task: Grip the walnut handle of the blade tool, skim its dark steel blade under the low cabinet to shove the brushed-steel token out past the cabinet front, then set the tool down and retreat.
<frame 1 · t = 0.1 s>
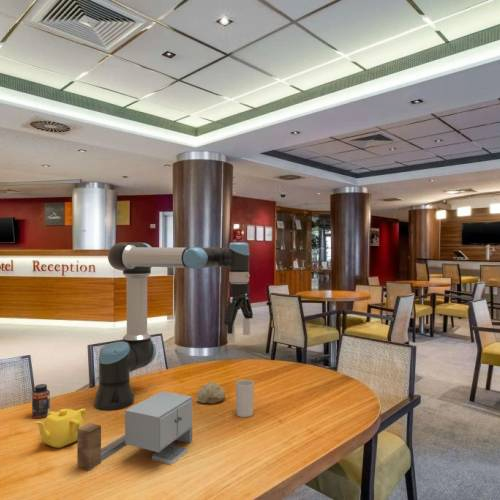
hand: (239, 338, 160), 28 cm above the table, fingers open, 13 cm apart
decorative item: (211, 401, 171), on the table
supplement bottle: (41, 416, 155), on the table
teapot: (61, 442, 135), on the table
mug: (243, 413, 159), on the table
steel token: (169, 457, 126), on the table
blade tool: (89, 465, 120), on the table
low cabinet: (160, 449, 130), on the table
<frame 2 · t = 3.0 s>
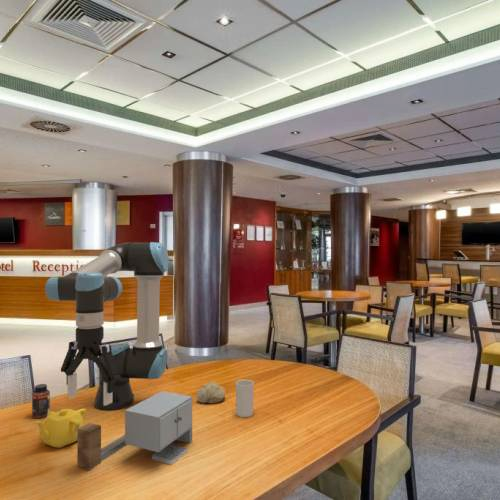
hand: (89, 400, 120), 19 cm above the table, fingers open, 13 cm apart
nothing on the table moved.
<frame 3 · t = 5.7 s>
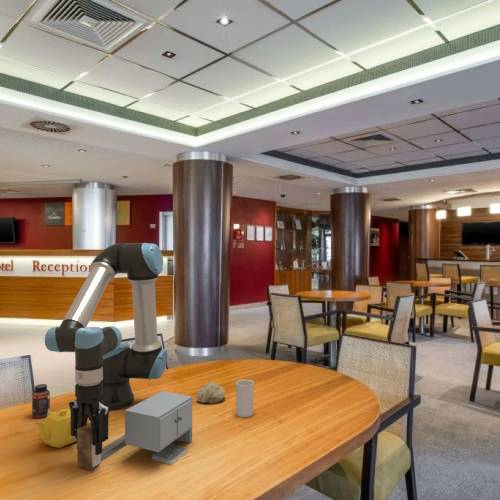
hand: (89, 462, 120), 1 cm above the table, fingers closed on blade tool, 4 cm apart
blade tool: (89, 465, 120), on the table, touching gripper
everything else where it was.
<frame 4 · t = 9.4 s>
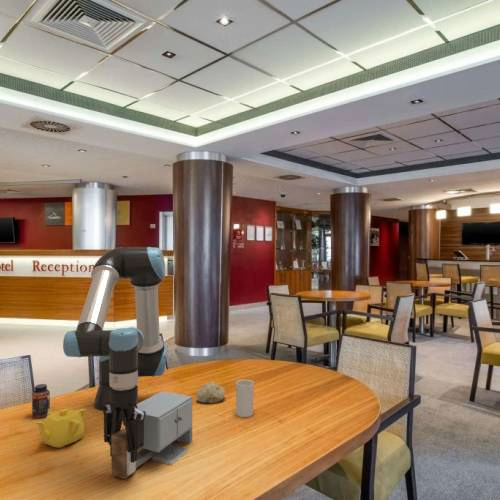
hand: (123, 470, 115), 1 cm above the table, fingers closed on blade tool, 4 cm apart
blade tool: (123, 472, 115), point 1 cm above the table, touching gripper
everything else where it was.
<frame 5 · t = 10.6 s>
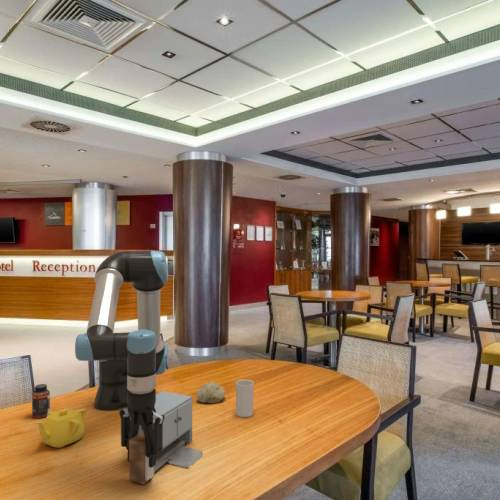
hand: (141, 475, 113), 1 cm above the table, fingers closed on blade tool, 5 cm apart
steel token: (185, 460, 124), on the table, touching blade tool
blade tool: (141, 478, 113), point 1 cm above the table, touching gripper, steel token
everything else where it was.
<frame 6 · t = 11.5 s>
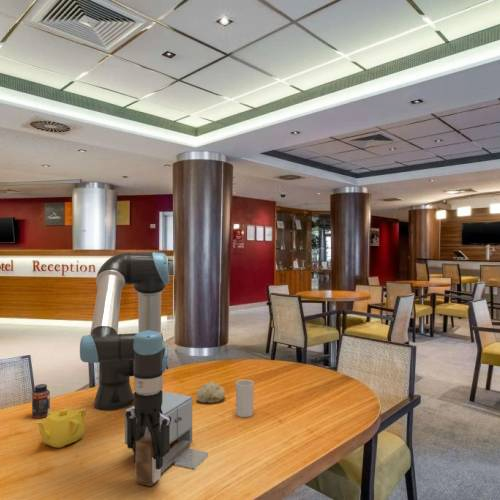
hand: (148, 477, 112), 1 cm above the table, fingers closed on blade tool, 5 cm apart
steel token: (191, 462, 123), on the table
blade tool: (148, 479, 112), point 1 cm above the table, touching gripper
everything else where it was.
when the fingers open (1 cm above the table, at t = 12.9 s): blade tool stays where it is, on the table.
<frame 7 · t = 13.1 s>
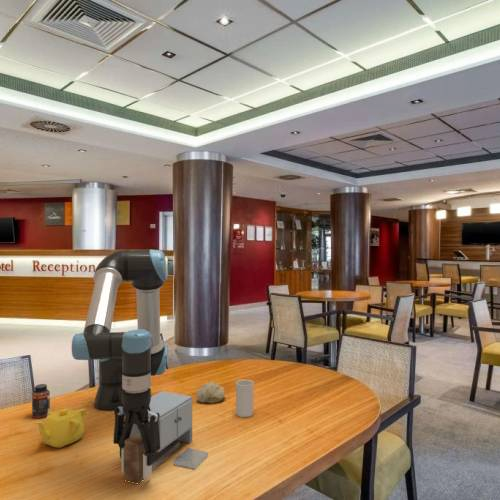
hand: (136, 473, 113), 2 cm above the table, fingers open, 7 cm apart
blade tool: (136, 478, 114), on the table
everything else where it was.
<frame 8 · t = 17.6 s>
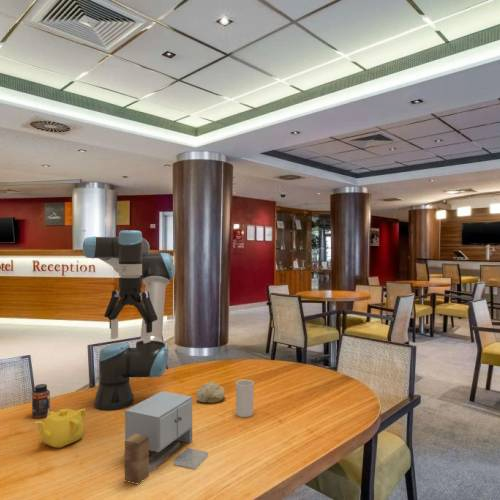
hand: (130, 340, 139), 32 cm above the table, fingers open, 13 cm apart
nothing on the table moved.
at the end: steel token inside the target area (4.0 cm from its centre), on the table; steel token tilted 0°; the gripper is holding nothing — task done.
